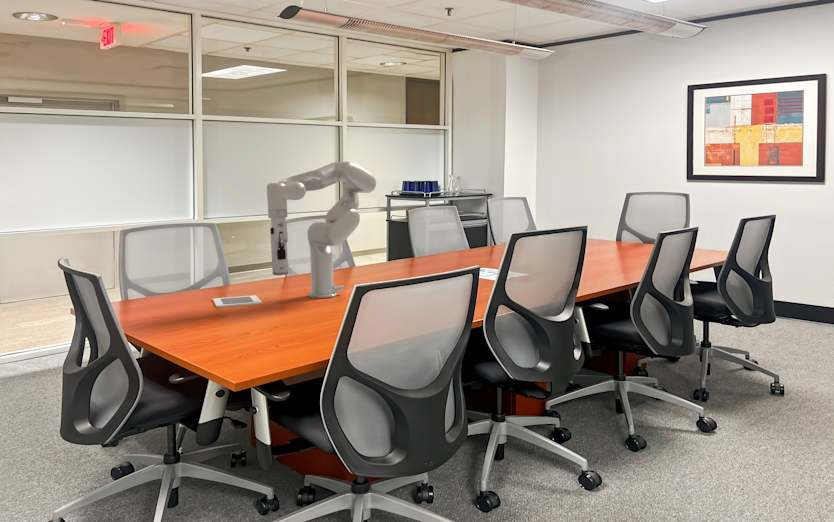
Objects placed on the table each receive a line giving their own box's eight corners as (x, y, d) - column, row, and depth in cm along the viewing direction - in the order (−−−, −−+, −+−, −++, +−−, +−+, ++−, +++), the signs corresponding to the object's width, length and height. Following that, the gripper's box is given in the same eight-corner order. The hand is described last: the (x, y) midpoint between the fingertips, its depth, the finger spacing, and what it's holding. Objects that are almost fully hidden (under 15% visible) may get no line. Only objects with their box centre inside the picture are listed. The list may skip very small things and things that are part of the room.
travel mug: (285, 275, 291) (283, 226, 288) (270, 275, 293) (267, 225, 289) (291, 272, 297) (289, 224, 294) (276, 272, 299) (273, 224, 295)
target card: (255, 296, 311) (255, 295, 311) (262, 303, 297) (262, 302, 296) (212, 300, 305) (212, 298, 305) (216, 307, 290) (216, 305, 290)
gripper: (291, 215, 284) (293, 260, 287) (282, 211, 300) (285, 254, 303) (272, 216, 282) (274, 261, 285) (264, 212, 298) (267, 255, 301)
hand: (280, 257), depth 294 cm, fingers closed on travel mug, 6 cm apart
